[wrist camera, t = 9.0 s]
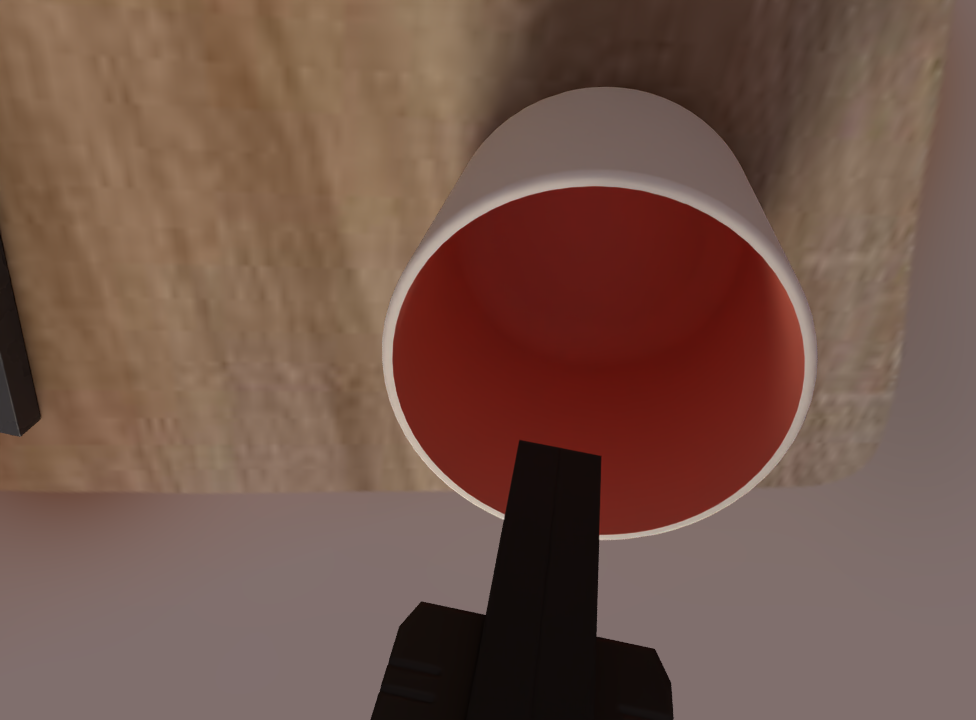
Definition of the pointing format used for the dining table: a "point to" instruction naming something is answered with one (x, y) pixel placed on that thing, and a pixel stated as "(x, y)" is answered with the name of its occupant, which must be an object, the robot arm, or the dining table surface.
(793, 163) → the dining table surface
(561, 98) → the cup
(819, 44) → the dining table surface
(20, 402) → the scale
